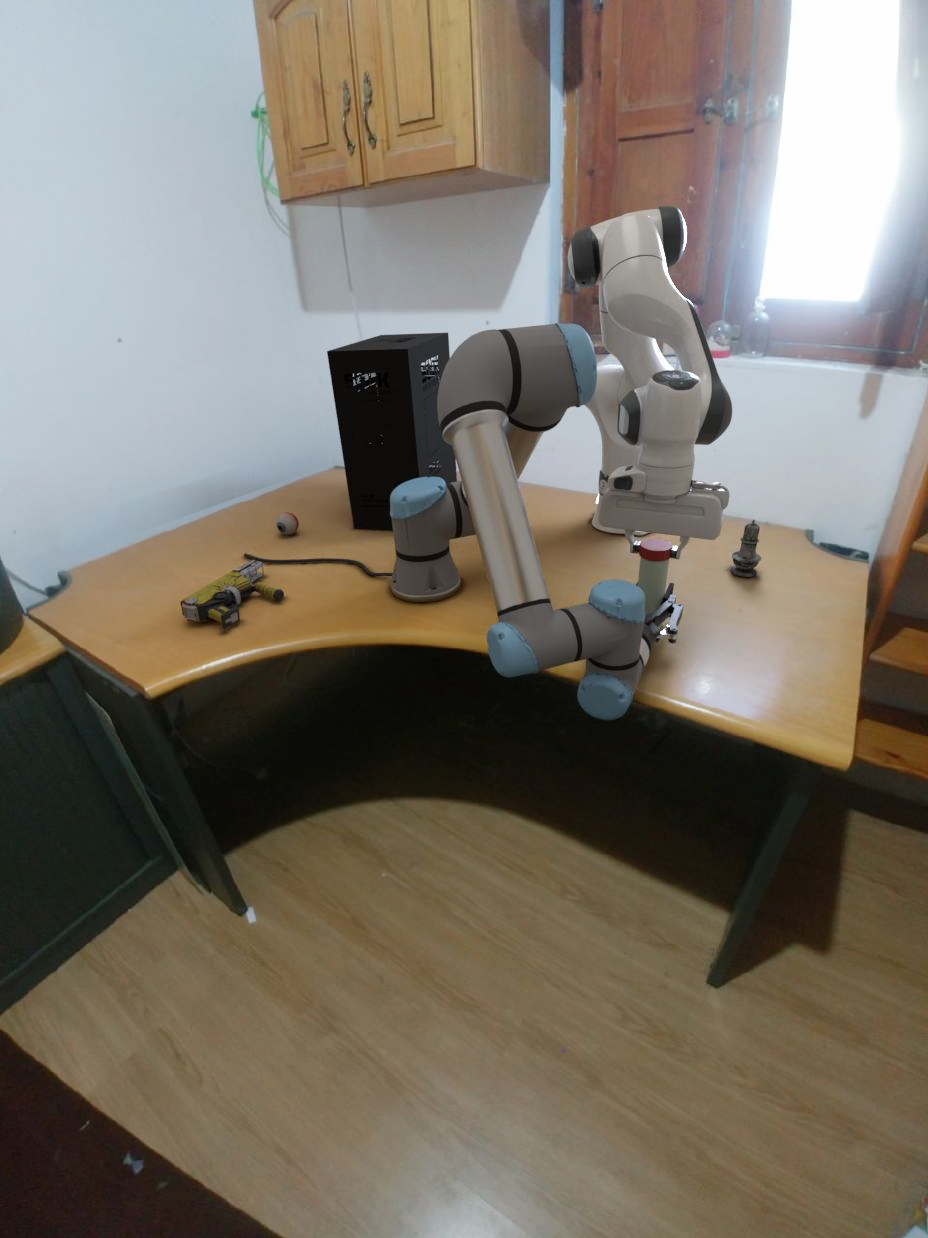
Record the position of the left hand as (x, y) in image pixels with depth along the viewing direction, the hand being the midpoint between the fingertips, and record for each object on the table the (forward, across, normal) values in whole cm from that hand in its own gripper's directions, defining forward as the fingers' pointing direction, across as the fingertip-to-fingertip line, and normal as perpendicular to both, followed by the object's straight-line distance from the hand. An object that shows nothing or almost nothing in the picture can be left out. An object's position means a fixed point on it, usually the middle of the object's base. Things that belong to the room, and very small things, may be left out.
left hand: (655, 587), depth 115 cm
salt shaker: (+26, +14, -6) cm, 30 cm away
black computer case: (+39, -79, -6) cm, 88 cm away
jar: (-5, 0, -6) cm, 8 cm away
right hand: (-5, 0, +9) cm, 10 cm away
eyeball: (+9, -99, -6) cm, 100 cm away
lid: (-5, 0, +10) cm, 12 cm away
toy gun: (-26, -81, -6) cm, 85 cm away
